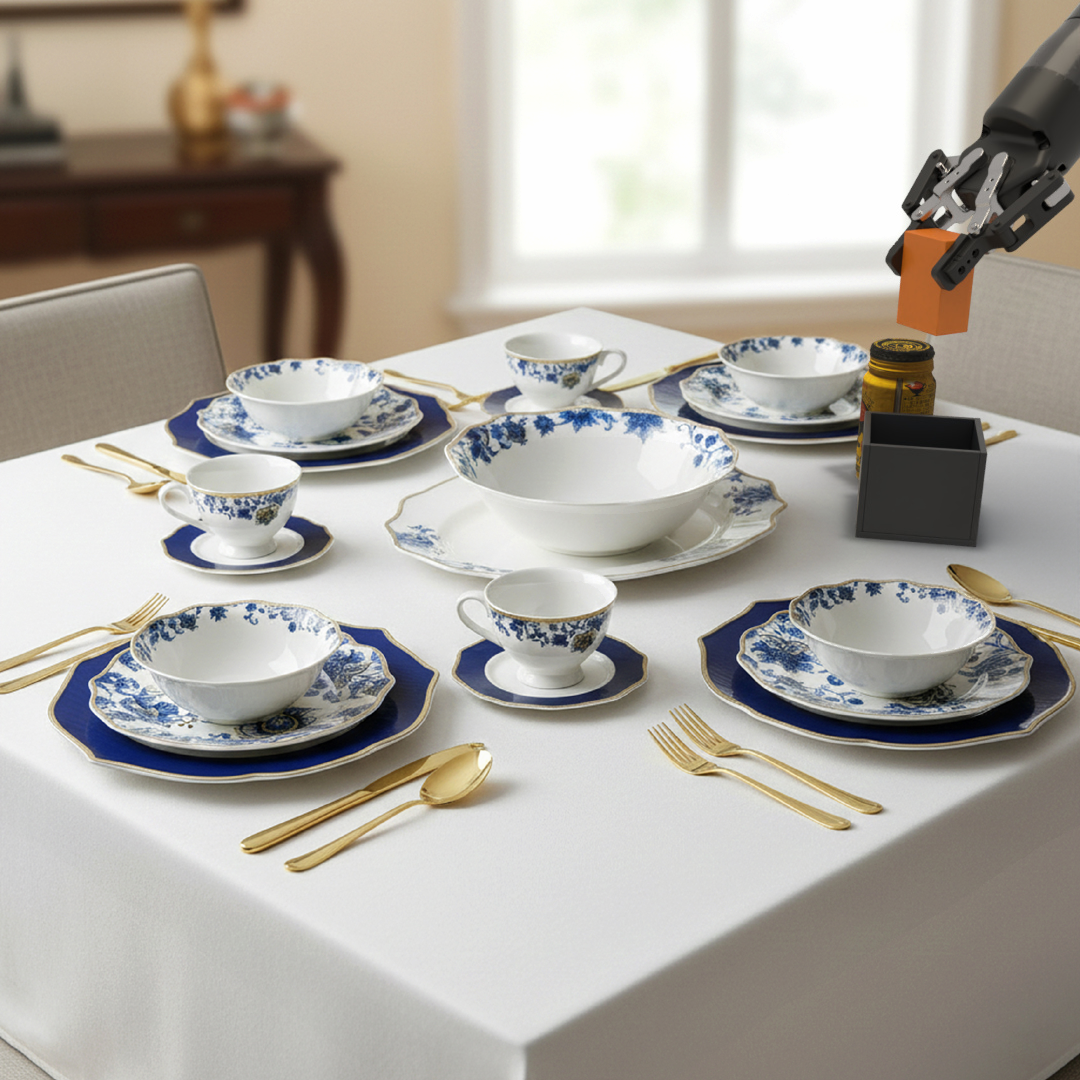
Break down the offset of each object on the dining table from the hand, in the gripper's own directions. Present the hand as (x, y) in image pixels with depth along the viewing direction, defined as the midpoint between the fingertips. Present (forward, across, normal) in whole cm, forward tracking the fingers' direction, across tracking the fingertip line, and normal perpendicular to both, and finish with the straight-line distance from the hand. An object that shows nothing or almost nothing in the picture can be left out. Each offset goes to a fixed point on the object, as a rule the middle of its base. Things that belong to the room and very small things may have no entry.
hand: (916, 275), depth 108 cm
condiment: (+9, -9, +20) cm, 24 cm away
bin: (+13, 0, +16) cm, 20 cm away
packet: (+2, 0, +4) cm, 5 cm away
